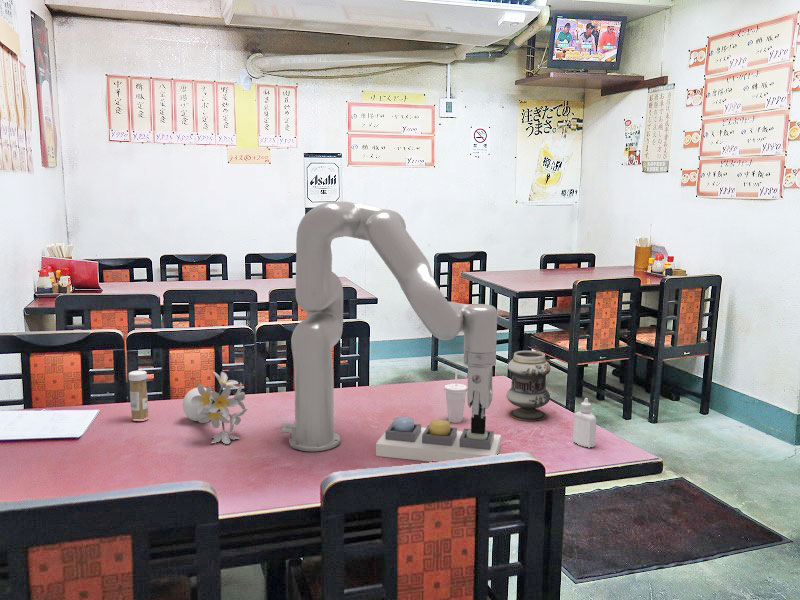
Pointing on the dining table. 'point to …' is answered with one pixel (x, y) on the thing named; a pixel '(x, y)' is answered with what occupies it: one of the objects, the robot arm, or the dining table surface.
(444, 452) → the button panel
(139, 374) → the sprinkles bottle
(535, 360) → the apothecary jar
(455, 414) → the smoothie
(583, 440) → the eye dropper bottle
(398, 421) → the blue button
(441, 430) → the mustard button
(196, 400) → the flower vase
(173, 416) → the dining table surface
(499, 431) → the dining table surface
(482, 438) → the sage button
